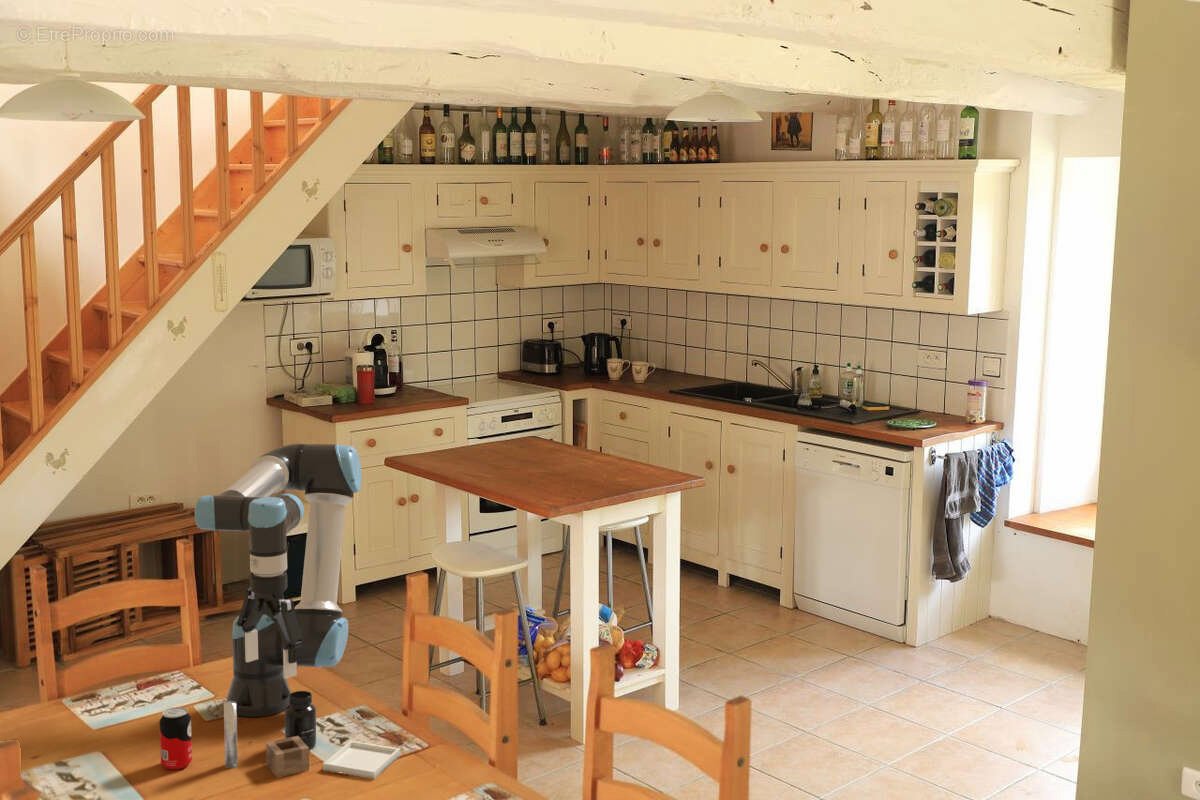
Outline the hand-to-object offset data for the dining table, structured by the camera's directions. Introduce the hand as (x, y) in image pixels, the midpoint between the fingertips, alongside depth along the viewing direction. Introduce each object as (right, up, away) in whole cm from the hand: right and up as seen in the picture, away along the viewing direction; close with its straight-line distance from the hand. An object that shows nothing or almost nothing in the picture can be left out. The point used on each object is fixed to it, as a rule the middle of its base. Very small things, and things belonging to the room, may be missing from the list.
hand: (270, 668), depth 253 cm
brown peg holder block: (+3, -22, +3) cm, 22 cm away
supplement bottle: (+3, -21, +14) cm, 25 cm away
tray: (+18, -22, +6) cm, 29 cm away
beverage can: (-21, -22, +3) cm, 30 cm away
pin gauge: (-9, -22, +3) cm, 24 cm away
